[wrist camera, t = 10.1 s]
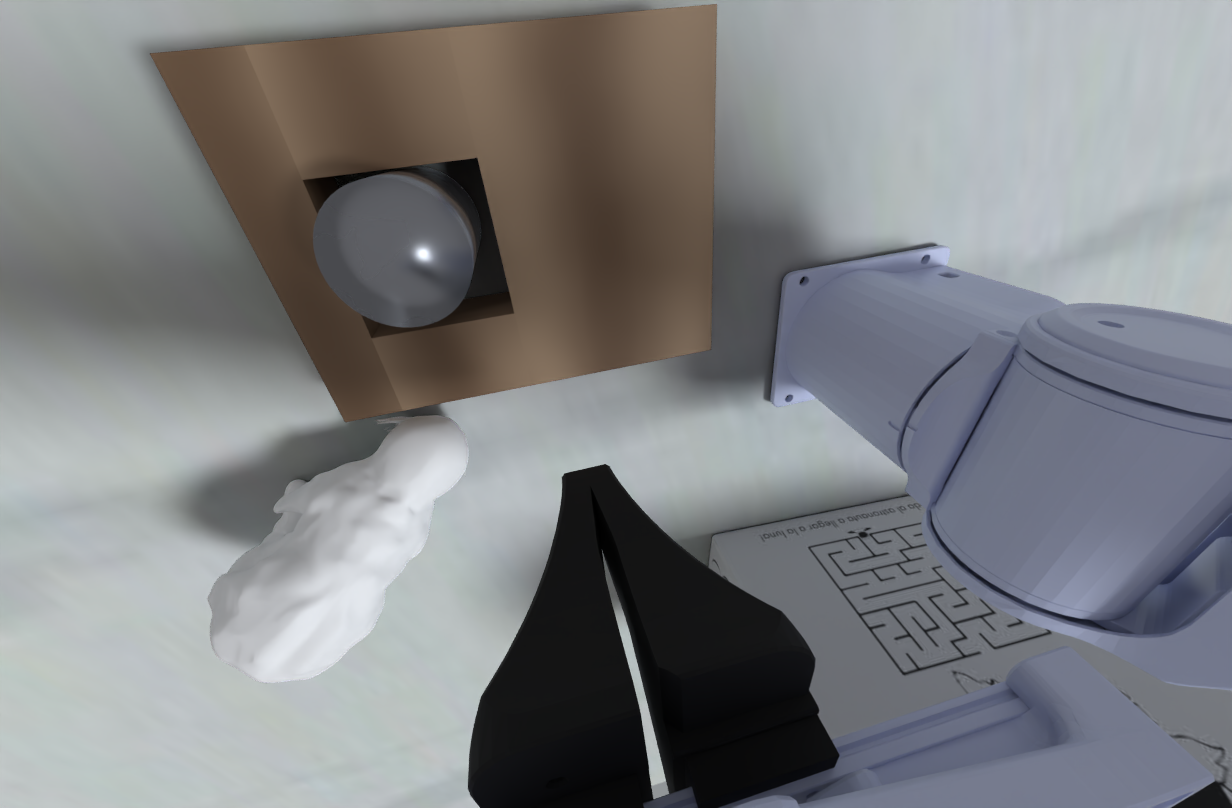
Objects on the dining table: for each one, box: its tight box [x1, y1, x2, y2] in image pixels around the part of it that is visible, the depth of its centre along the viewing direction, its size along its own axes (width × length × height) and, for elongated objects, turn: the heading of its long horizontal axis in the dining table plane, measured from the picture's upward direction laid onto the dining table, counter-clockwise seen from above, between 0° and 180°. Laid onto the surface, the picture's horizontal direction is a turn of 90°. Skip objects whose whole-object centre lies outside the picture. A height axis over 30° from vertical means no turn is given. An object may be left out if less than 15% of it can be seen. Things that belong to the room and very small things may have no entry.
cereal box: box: [708, 496, 1232, 808], centre depth 25 cm, size 22×8×25 cm, turn 92°
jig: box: [150, 4, 717, 422], centre depth 17 cm, size 16×12×3 cm
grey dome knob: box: [313, 166, 481, 327], centre depth 15 cm, size 4×4×6 cm
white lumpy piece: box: [208, 415, 469, 683], centre depth 20 cm, size 6×8×12 cm
